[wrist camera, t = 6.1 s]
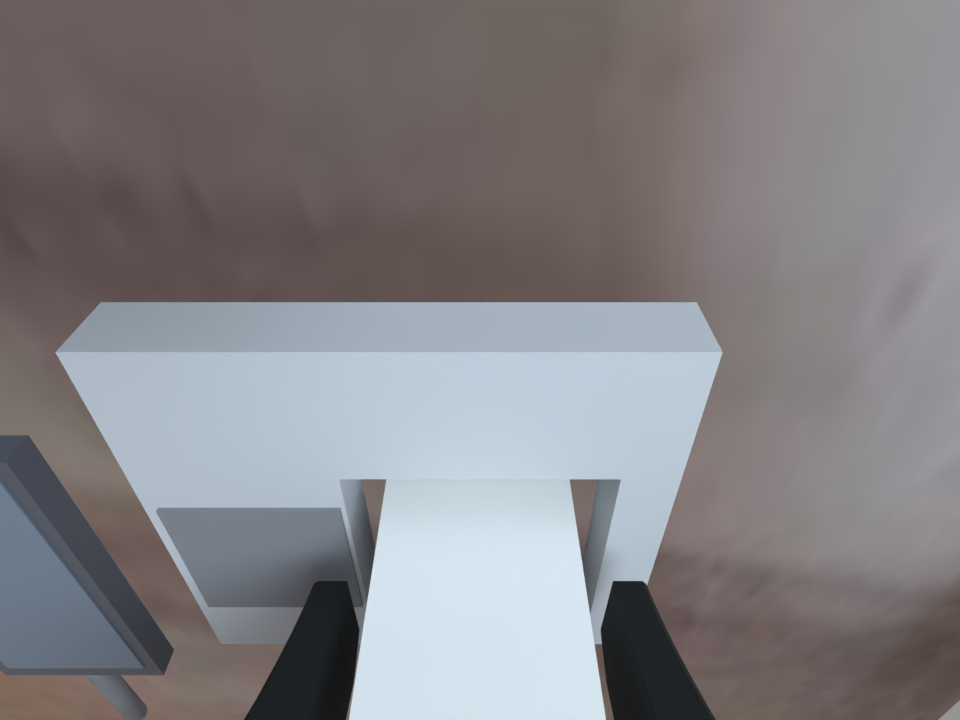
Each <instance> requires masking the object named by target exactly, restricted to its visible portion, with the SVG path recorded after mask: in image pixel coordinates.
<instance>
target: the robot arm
mask: <svg viewBox="0 0 960 720" xmlns="http://www.w3.org/2000/svg"><path fill="white" fill-rule="evenodd" d="M359 631H360V630H359V626H358V622H357V618H356V614H355V610H354V606H353V602H352V598H351V594H350V590H349V587H348V583H347V581H317V582H316V583H314V584H313V586H312V589H311V591H310V594H309V596H308V598H307V601H306V603H305V605H304V607H303V609H302V612H301V614H300V616H299V618H298V620H297V622H296V624H295V627H294V629H293V631H292V633H291V635H290V637H289V639H288V641H287V643H286V645H285V647H284V649H283V650H282V652H281V654H280V656H279V658H278V660H277V662H276V664H275V666H274V667H273V669H272V671H271V673H270V675H269V677H268V678H267V680H266V682H265V684H264V686H263V688H262V689H261V691H260V693H259V695H258V697H257V698H256V700H255V702H254V704H253V705H252V707H251V709H250V710H249V712H248V714H247V715H246V717H245V719H244V720H346V717H347V713H348V708H349V703H350V698H351V693H352V688H353V684H354V676H355V668H356V659H357V650H358V640H359ZM601 640H602V649H603V659H604V667H605V676H606V683H607V688H608V693H609V698H610V703H611V708H612V712H613V717H614V720H716V719H715V717H714V716H713V714H712V712H711V711H710V709H709V707H708V705H707V704H706V702H705V700H704V698H703V697H702V695H701V693H700V691H699V689H698V688H697V686H696V684H695V682H694V680H693V679H692V677H691V675H690V673H689V672H688V670H687V668H686V666H685V664H684V662H683V660H682V658H681V657H680V655H679V653H678V651H677V649H676V647H675V645H674V643H673V641H672V639H671V637H670V635H669V633H668V631H667V629H666V627H665V625H664V623H663V620H662V618H661V616H660V614H659V612H658V610H657V607H656V605H655V603H654V601H653V598H652V596H651V594H650V591H649V589H648V587H647V584H646V583H644V582H643V581H613V583H612V587H611V591H610V595H609V598H608V602H607V606H606V610H605V614H604V618H603V622H602V626H601Z"/></svg>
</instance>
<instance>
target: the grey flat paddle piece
mask: <svg viewBox="0 0 960 720" xmlns="http://www.w3.org/2000/svg"><path fill="white" fill-rule="evenodd" d="M173 651H174V649H173V647H172V646H171V644H170V643H169V641H168V640H167V639H166V637H165V636H164V634H163V633H162V631H161V630H160V628H159V627H158V625H157V624H156V622H155V621H154V619H153V618H152V616H151V615H150V613H149V612H148V611H147V609H146V608H145V606H144V605H143V603H142V602H141V600H140V599H139V597H138V596H137V594H136V593H135V591H134V590H133V588H132V587H131V585H130V584H129V583H128V581H127V580H126V578H125V577H124V575H123V574H122V572H121V571H120V569H119V568H118V566H117V565H116V563H115V562H114V560H113V559H112V557H111V556H110V555H109V553H108V552H107V550H106V549H105V547H104V546H103V544H102V543H101V541H100V540H99V538H98V537H97V535H96V534H95V532H94V531H93V529H92V528H91V527H90V525H89V524H88V522H87V521H86V519H85V518H84V516H83V515H82V513H81V512H80V510H79V509H78V507H77V506H76V504H75V503H74V501H73V500H72V499H71V497H70V496H69V494H68V493H67V491H66V490H65V488H64V487H63V485H62V484H61V482H60V481H59V479H58V478H57V476H56V475H55V473H54V472H53V471H52V469H51V468H50V466H49V465H48V463H47V462H46V460H45V459H44V457H43V456H42V454H41V453H40V451H39V450H38V448H37V447H36V445H35V444H34V443H33V441H32V440H31V438H30V437H29V435H0V670H1V671H2V672H3V673H4V674H5V675H84V676H85V677H86V678H87V679H88V680H89V681H90V682H91V683H92V684H93V685H94V687H95V688H96V689H97V690H98V691H99V692H100V693H101V694H102V695H103V696H104V697H105V698H106V699H107V701H108V702H109V703H110V704H111V705H112V706H113V707H114V708H115V709H116V710H117V711H118V712H119V713H120V714H121V716H122V717H123V718H124V719H125V720H144V718H145V717H146V715H147V706H146V705H145V703H144V702H143V701H142V700H141V699H140V698H139V696H138V695H137V694H136V693H135V692H134V690H133V689H132V688H131V687H130V686H129V685H128V683H127V682H126V681H125V680H124V679H123V677H122V676H121V675H164V674H165V671H166V669H167V666H168V664H169V661H170V659H171V656H172V654H173Z"/></svg>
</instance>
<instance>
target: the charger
mask: <svg viewBox="0 0 960 720" xmlns="http://www.w3.org/2000/svg"><path fill="white" fill-rule="evenodd" d="M349 720H606V716H605V710H604V703H603V697H602V690H601V683H600V677H599V670H598V664H597V657H596V650H595V644H594V637H593V631H592V624H591V618H590V611H589V604H588V598H587V591H586V585H585V578H584V571H583V565H582V558H581V552H580V545H579V538H578V532H577V525H576V519H575V512H574V506H573V499H572V492H571V486H570V479H386V485H385V491H384V498H383V504H382V510H381V517H380V523H379V530H378V536H377V542H376V549H375V555H374V562H373V568H372V575H371V581H370V587H369V594H368V600H367V607H366V613H365V619H364V626H363V632H362V639H361V645H360V652H359V658H358V664H357V671H356V677H355V684H354V690H353V696H352V703H351V709H350V716H349Z"/></svg>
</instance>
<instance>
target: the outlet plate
mask: <svg viewBox="0 0 960 720" xmlns="http://www.w3.org/2000/svg"><path fill="white" fill-rule="evenodd" d="M722 353H723V352H722V350H721V348H720V346H719V344H718V342H717V340H716V338H715V337H714V335H713V333H712V331H711V329H710V327H709V325H708V323H707V321H706V319H705V317H704V315H703V313H702V312H701V310H700V308H699V306H698V304H697V302H101V303H100V304H99V305H98V306H97V307H96V308H95V309H94V310H93V311H92V313H91V314H90V315H89V316H88V317H87V318H86V319H85V320H84V321H83V322H82V323H81V325H80V326H79V327H78V328H77V329H76V330H75V331H74V332H73V333H72V334H71V336H70V337H69V338H68V339H67V340H66V341H65V342H64V343H63V344H62V345H61V347H60V348H59V349H58V350H57V351H56V354H57V356H58V358H59V360H60V361H61V363H62V365H63V367H64V368H65V370H66V372H67V374H68V375H69V377H70V379H71V381H72V382H73V384H74V386H75V388H76V389H77V391H78V393H79V395H80V397H81V398H82V400H83V402H84V404H85V405H86V407H87V409H88V411H89V412H90V414H91V416H92V418H93V419H94V421H95V423H96V425H97V426H98V428H99V430H100V432H101V434H102V435H103V437H104V439H105V441H106V442H107V444H108V446H109V448H110V449H111V451H112V453H113V455H114V456H115V458H116V460H117V462H118V463H119V465H120V467H121V469H122V471H123V472H124V474H125V476H126V478H127V479H128V481H129V483H130V485H131V486H132V488H133V490H134V492H135V493H136V495H137V497H138V499H139V500H140V502H141V504H142V506H143V508H144V509H145V511H146V513H147V515H148V516H149V518H150V520H151V522H152V523H153V525H154V527H155V529H156V530H157V532H158V534H159V536H160V537H161V539H162V541H163V543H164V545H165V546H166V548H167V550H168V552H169V553H170V555H171V557H172V559H173V560H174V562H175V564H176V566H177V567H178V569H179V571H180V573H181V574H182V576H183V578H184V580H185V582H186V583H187V585H188V587H189V589H190V590H191V592H192V594H193V596H194V597H195V599H196V601H197V603H198V604H199V606H200V608H201V610H202V612H203V613H204V615H205V617H206V619H207V620H208V622H209V624H210V626H211V627H212V629H213V631H214V633H215V634H216V636H217V638H218V640H219V641H220V643H221V644H286V643H287V641H288V639H289V637H290V635H291V633H292V631H293V629H294V627H295V624H296V622H297V620H298V618H299V616H300V614H301V612H302V609H303V607H304V605H305V603H306V601H307V598H308V596H309V594H310V591H311V589H312V586H313V584H314V583H316V582H317V581H347V583H348V587H349V590H350V594H351V598H352V602H353V606H354V610H355V614H356V618H357V622H358V626H359V630H360V631H359V640H358V644H361V639H362V632H363V626H364V619H365V613H366V607H367V600H368V594H369V587H370V581H371V575H372V568H373V562H374V555H375V545H374V540H373V535H372V529H371V524H370V519H369V514H368V508H367V503H366V498H365V493H364V487H363V482H362V479H598V482H597V487H596V493H595V498H594V503H593V508H592V514H591V519H590V524H589V529H588V535H587V540H586V545H585V550H584V556H583V561H582V565H583V571H584V578H585V585H586V591H587V598H588V604H589V611H590V618H591V624H592V631H593V637H594V644H602V640H601V626H602V622H603V618H604V614H605V610H606V606H607V602H608V598H609V595H610V591H611V587H612V583H613V581H643V582H644V583H646V584H648V581H649V578H650V575H651V572H652V569H653V565H654V562H655V559H656V556H657V553H658V550H659V547H660V544H661V541H662V538H663V535H664V532H665V528H666V525H667V522H668V519H669V516H670V513H671V510H672V507H673V504H674V501H675V498H676V495H677V491H678V488H679V485H680V482H681V479H682V476H683V473H684V470H685V467H686V464H687V461H688V458H689V454H690V451H691V448H692V445H693V442H694V439H695V436H696V433H697V430H698V427H699V424H700V421H701V417H702V414H703V411H704V408H705V405H706V402H707V399H708V396H709V393H710V390H711V387H712V383H713V380H714V377H715V374H716V371H717V368H718V365H719V362H720V359H721V356H722Z"/></svg>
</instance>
